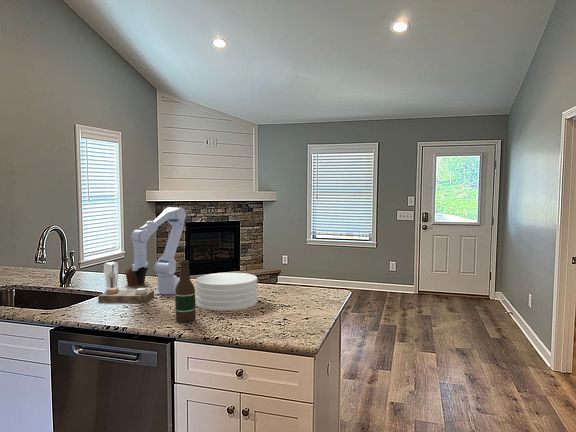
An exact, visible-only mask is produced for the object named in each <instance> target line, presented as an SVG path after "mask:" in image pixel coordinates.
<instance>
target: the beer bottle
mask: <svg viewBox="0 0 576 432" xmlns="http://www.w3.org/2000/svg"><path fill="white" fill-rule="evenodd" d="M179 264H180V268H179V270H180V271H179V280H178V284H177V286H176V289H175V294H174V299H175V301H174V302H175V307H174V308H175V311H174V312H175V313H174V314H175V321H176V322H177V323H178V324H187V323H192V322H194V321H195V320H196V287H195V286H194V283H193V282H192V281H191V278H190V277H191V276H190V265H189V264H190V261H189V260H188V259H187V260H186V259H184V260H183V259H182V260H180V261H179Z"/></svg>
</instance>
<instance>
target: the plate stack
mask: <svg viewBox="0 0 576 432" xmlns="http://www.w3.org/2000/svg"><path fill="white" fill-rule="evenodd" d="M195 283H196V284H195V306H197V308H200V309H203V310H207V311H208V310H209V311H220V312H221V311H222V312H223V311H225V312H226V311H235V310H236V311H237V310H243V309H248V308H250V307H253V306H256V305H257V304H258V277H257V276H256V275H254V274H251V273H244V272H217V273H209V274H205V275H201V276H198V277H196V278H195Z"/></svg>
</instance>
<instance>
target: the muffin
mask: <svg viewBox="0 0 576 432" xmlns="http://www.w3.org/2000/svg"><path fill="white" fill-rule="evenodd" d="M132 267H133V266H130V267H129V268H128V269H127V270H126V271H125V272H124V276H126V277H125V278H126V282H127V286H128V287H139V286H143V285H145V281H146V278H145V279H144V283H143V284H138V281H137V277H136V275H135V273H134V272H133V271H132ZM145 277H146V275H145Z"/></svg>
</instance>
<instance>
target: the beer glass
mask: <svg viewBox="0 0 576 432" xmlns="http://www.w3.org/2000/svg"><path fill="white" fill-rule="evenodd" d="M103 277H104V282H105V291H104V293H105V292H106V290H107V289H109V288H118V280H119V262H117V261H116V262H114V261H110V262H103Z"/></svg>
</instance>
